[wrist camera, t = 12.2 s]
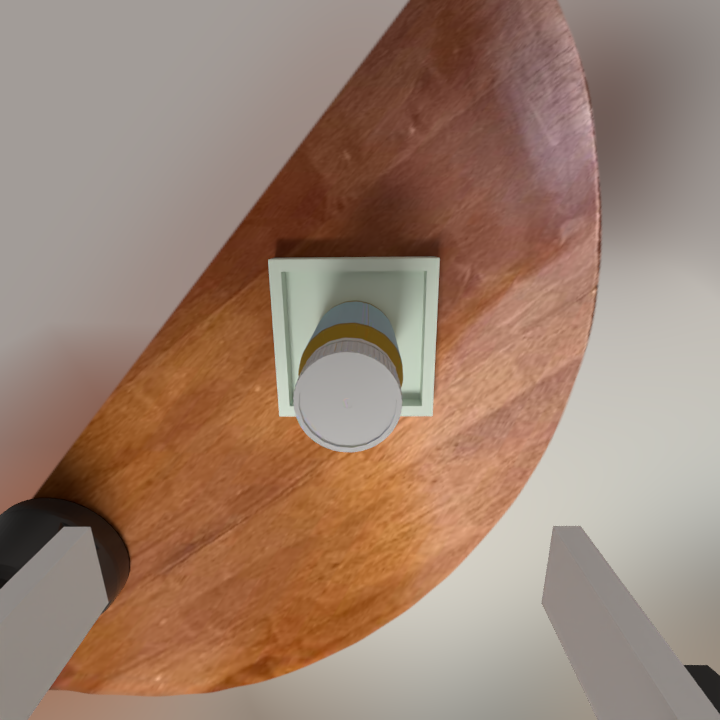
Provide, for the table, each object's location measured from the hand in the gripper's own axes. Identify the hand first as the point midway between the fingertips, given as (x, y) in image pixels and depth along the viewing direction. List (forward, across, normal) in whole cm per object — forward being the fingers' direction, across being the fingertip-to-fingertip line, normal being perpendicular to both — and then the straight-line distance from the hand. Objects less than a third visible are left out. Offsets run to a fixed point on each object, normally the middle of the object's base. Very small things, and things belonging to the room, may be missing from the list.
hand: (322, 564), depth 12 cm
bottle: (+27, 0, 0) cm, 27 cm away
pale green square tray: (+28, 0, 0) cm, 28 cm away
